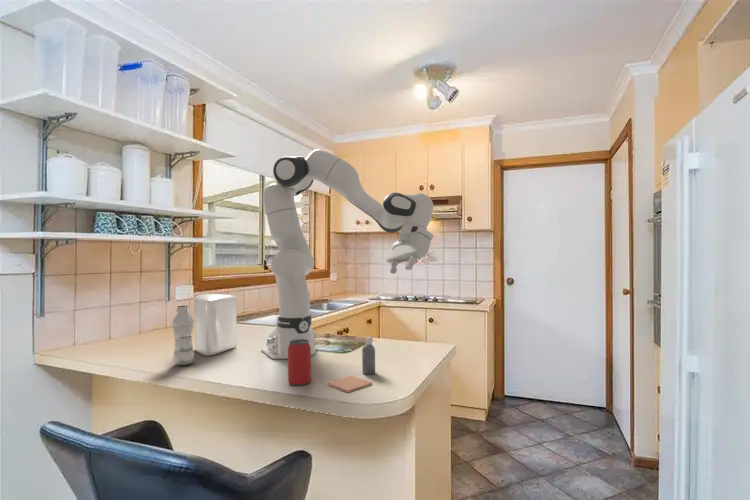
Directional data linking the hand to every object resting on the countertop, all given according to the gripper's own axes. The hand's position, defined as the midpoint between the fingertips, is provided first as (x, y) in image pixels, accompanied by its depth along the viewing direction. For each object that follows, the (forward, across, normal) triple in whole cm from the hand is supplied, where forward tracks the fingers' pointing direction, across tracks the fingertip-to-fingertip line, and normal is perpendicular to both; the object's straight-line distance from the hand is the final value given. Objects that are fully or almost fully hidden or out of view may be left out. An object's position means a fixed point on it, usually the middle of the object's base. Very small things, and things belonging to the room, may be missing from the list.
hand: (400, 271), depth 136 cm
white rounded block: (+44, -59, -35) cm, 82 cm away
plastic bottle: (+51, -44, -44) cm, 80 cm away
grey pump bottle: (+34, -2, +2) cm, 34 cm away
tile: (+40, +4, -6) cm, 41 cm away
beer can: (+44, -5, -17) cm, 48 cm away
